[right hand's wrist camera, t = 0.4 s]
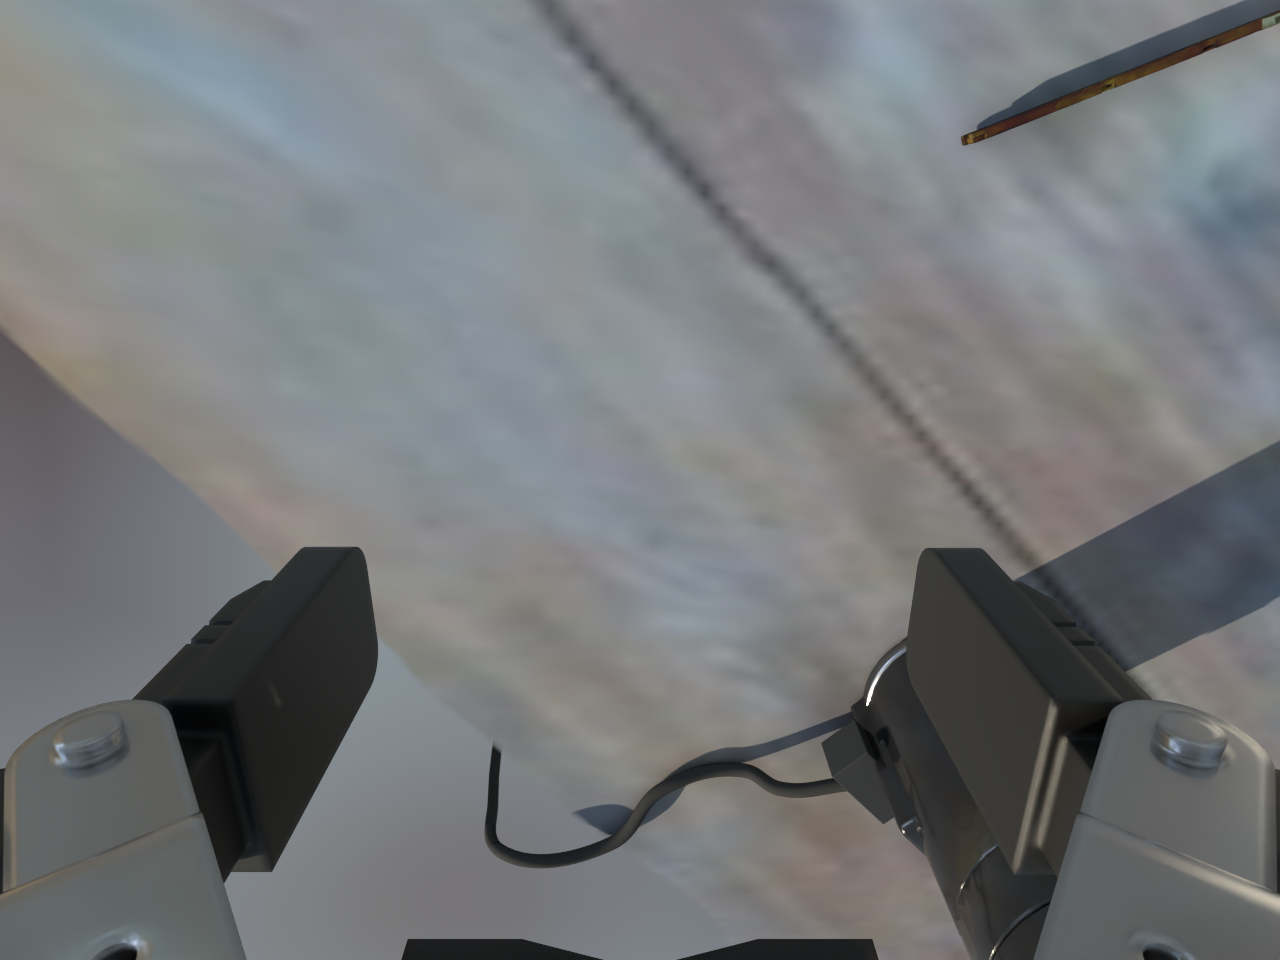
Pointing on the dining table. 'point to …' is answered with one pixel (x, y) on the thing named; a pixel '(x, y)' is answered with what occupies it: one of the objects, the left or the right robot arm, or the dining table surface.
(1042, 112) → the brown thin rod
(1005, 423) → the dining table surface
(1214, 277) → the dining table surface
